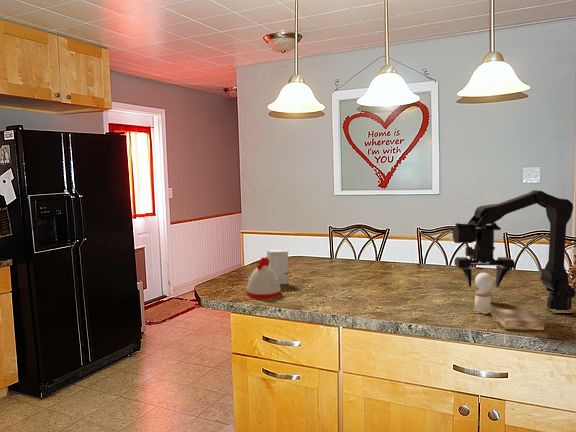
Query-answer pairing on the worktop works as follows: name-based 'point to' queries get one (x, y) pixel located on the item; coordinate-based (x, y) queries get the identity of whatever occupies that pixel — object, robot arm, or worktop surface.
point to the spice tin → (482, 301)
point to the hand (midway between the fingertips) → (483, 286)
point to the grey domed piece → (263, 281)
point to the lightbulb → (484, 281)
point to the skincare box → (279, 264)
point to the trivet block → (517, 318)
